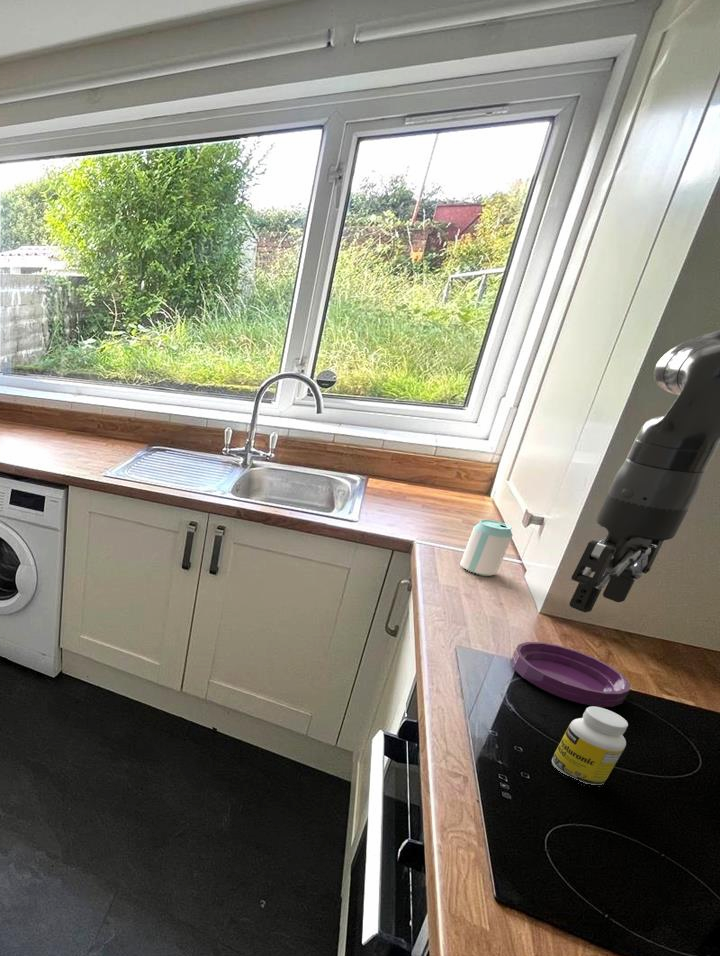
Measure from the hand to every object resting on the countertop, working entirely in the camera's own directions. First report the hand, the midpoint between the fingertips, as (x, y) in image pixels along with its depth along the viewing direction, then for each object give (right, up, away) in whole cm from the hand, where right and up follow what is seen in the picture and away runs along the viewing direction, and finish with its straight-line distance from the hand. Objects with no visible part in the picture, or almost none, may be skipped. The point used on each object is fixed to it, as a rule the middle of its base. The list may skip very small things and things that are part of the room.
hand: (596, 604), depth 83 cm
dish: (+11, -15, +16) cm, 25 cm away
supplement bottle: (-6, -23, -3) cm, 24 cm away
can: (+29, 0, +55) cm, 62 cm away
